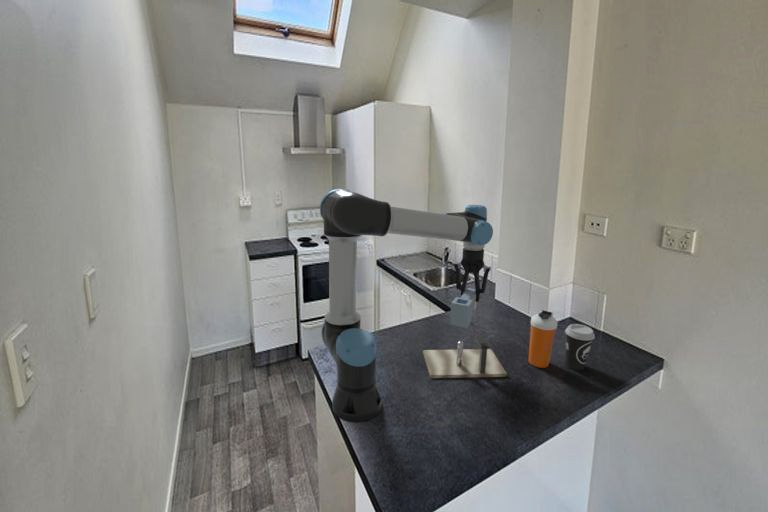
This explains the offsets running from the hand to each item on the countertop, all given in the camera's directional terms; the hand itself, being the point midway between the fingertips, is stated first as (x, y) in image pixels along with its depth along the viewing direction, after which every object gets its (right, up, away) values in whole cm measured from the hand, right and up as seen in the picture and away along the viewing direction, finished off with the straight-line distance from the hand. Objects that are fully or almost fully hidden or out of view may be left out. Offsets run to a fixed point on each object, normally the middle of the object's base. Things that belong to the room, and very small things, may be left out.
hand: (469, 307), depth 141 cm
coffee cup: (+38, -21, -3) cm, 44 cm away
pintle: (-5, -21, -5) cm, 22 cm away
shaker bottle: (+26, -21, -1) cm, 33 cm away
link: (-3, -2, -5) cm, 7 cm away
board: (-3, -20, -3) cm, 21 cm away
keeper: (+2, -22, -7) cm, 23 cm away
